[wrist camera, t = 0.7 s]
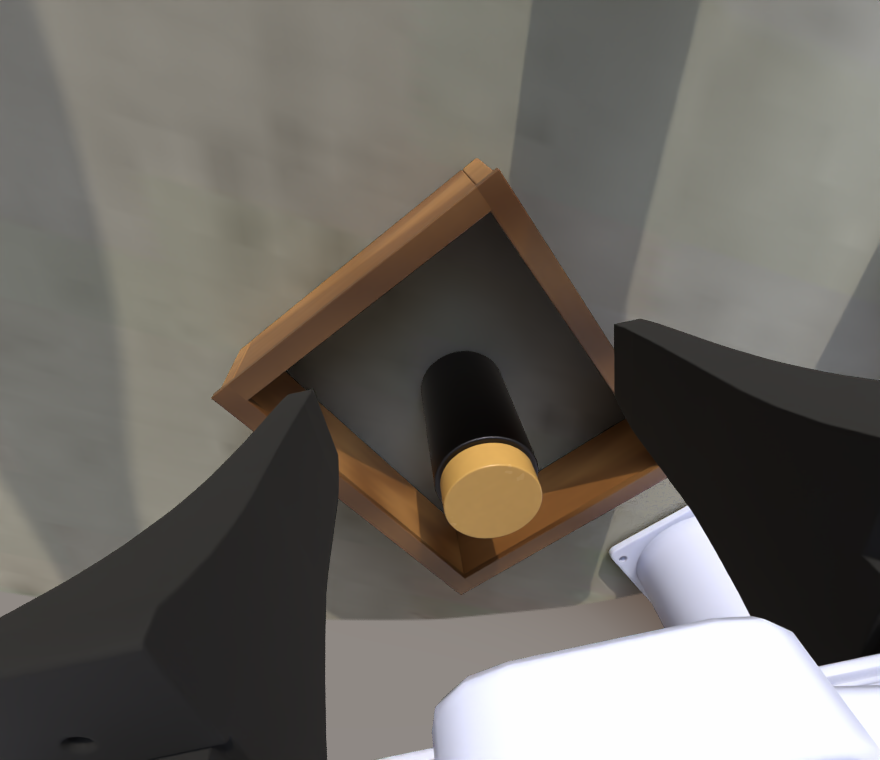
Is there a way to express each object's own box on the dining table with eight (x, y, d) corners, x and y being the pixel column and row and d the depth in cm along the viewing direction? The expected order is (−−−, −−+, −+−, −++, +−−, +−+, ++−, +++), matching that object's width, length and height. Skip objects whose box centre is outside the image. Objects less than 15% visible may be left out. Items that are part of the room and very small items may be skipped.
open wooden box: (649, 417, 26) (688, 466, 22) (451, 536, 29) (460, 595, 25) (477, 152, 18) (498, 168, 15) (235, 349, 21) (210, 398, 18)
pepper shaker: (516, 390, 24) (568, 506, 18) (452, 432, 25) (479, 557, 18) (471, 334, 22) (510, 440, 16) (404, 382, 23) (414, 501, 17)
